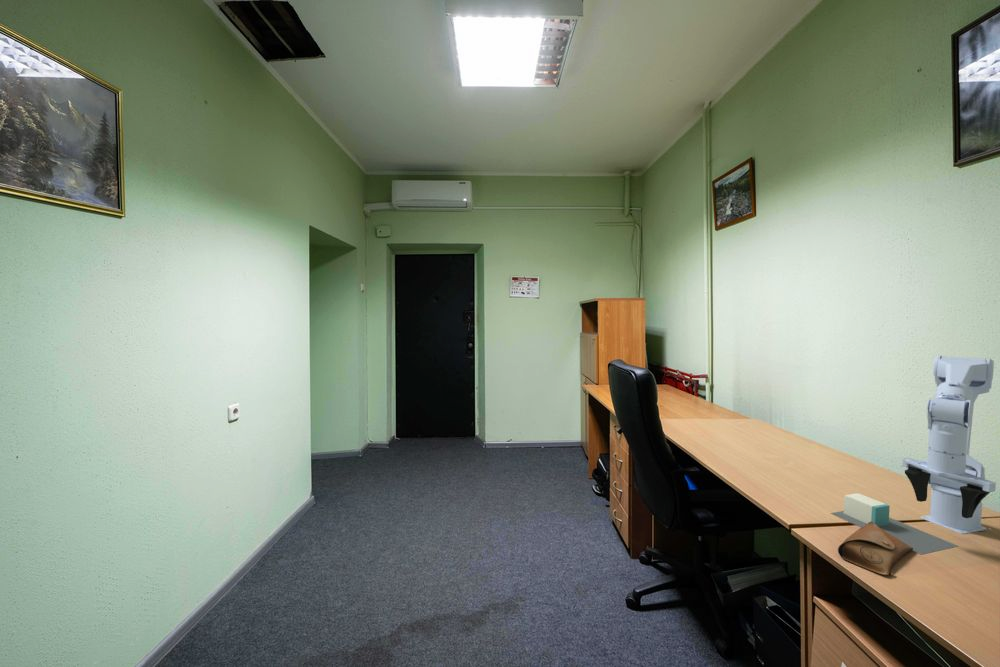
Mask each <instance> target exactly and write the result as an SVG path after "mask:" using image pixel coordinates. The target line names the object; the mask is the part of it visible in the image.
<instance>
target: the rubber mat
mask: <svg viewBox="0 0 1000 667" xmlns="http://www.w3.org/2000/svg"><path fill="white" fill-rule="evenodd" d="M830 514H831V515H833V516H835V517H837V518H839V519H842V520H844V521H847V522H848V523H850V524H852V525H854V526H857V527H858V528H861V527H863V526H865V525H867V523H864V522H862V521H860V520H858V519H855V518H853V517H851V516H849V515H846V514H844V510H843V511H842V510H841V511H836V512H831V513H830ZM878 527H880V528H881V529H883V530H885V531H886V532H888V533H889V534H891V535H893V536H894V537H896V538H897V539H899V540H900V541H902V542H904V543H905V544H907V545H909V546H910V547H912V548H914V549H913V550H911V551H912V552H913V553H916V554H918V555H921V556H922V555H927V554H930V553H935V552H939V551H944V550H948V549H953V548H957V547H959V545H957V544H955V543H952V542H951V541H949V540H946V539H943V538H940V537H938V536H935V535H933V534H931V533H929V532H925V531H923V530H921V529H919V528H916V527H914V526H911V525H909V524H907V523H904V522H901V521H899V520H896V519H894V518H892V517H889V525H883V526H878ZM911 551H910V552H911Z"/></svg>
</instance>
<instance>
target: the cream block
mask: <svg viewBox="0 0 1000 667" xmlns="http://www.w3.org/2000/svg"><path fill="white" fill-rule="evenodd" d="M843 497H844V498H843V511H844V514H846V515H849V516H851V517H853V518H855V519H858V520H860V521H862V522H864V523H867V524H868V523H869V522H871V521H873V522H874V523H875V524H876V525H877V526H883V525H889V518H890V504H887V503H885V502H881V501H879V500H876V499H874V498H871V497H869V496H866V495H863V494H861V493H859V492H856V493H851V494H850V493H849V494H845V495H844V496H843Z"/></svg>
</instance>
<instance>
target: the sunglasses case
mask: <svg viewBox="0 0 1000 667" xmlns="http://www.w3.org/2000/svg"><path fill="white" fill-rule="evenodd" d="M913 549H914V548H912V547H910V546H909V545H907V544H905V543H904V542H902V541H900V540H899V539H897V538H896V537H894V536H893V535H891V534H889V533H888V532H886V531H885V530H883V529H881V528H880V527H878V526H877V525H876V524H875V523H874V522H873V521H871V522H869V523H868V524H867V525H865V526H863V527H859V529H858V530H856V531H855V532H853V533H851V534H850V535H849V537H847V538H846V539H844V541H843V542H842V543H841V544H840V545H839V546H838V548H837V554H839V556H840V557H841V559H842V560H845V562H846V561H847V562H848V563H851V564H853V565H855V566H858V567H860V568H862V569H865V570H868V571H870V572H873V573H876V574H879V575H882V576H889V575H890V572H891V571H892V568H893V567H894V566H895V565H896V563H898V561H900V560H901V559H902V558H904V556H906V555H907V554H909V553H910V552H911V550H913Z"/></svg>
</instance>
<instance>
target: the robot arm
mask: <svg viewBox="0 0 1000 667" xmlns="http://www.w3.org/2000/svg"><path fill="white" fill-rule="evenodd" d="M994 364H995V362H994V359H992V358H991V357H988V358H982V357H978V358H977V357H964V356H963V357H962V356H947V355H946V356H945V355H939V354H938V355H937V356H936V357H934V361H933V376H934V383H935V384H936V387H937V388H936V389H935V393H934V397H933V398H932V399H928V401H927V404H926V418H927V419H926V420H927V429H928V444H927V445H928V446H927V456H926V461H923V460H918V459H913V458H910V457H905V458H902V463H901V464H902V467H904V468H907V469H904V474H905V475H906V477H907V478H908V480H909V481H910V484H911V485H912V488H913V492H914V494H915V499H916V501H917V502H920V503H921V502H927V498H928V486H929V488H930V489H931V490H930V506H929V507H930V509H929V514H927V515H921V516H920V519H923V520H925V521H928V522H931V523H933V524H935V525H936V526H937V525H938V526H940V527H943V528H946V529H948V530H950V531H954V532H956V533H958V534H962V535H966V534H971V533H974V532H975V533H977V532H981V531H986V530H987V528H986V527H985V526H982V513H983V502H982V501H983V500H984V498H986V497H987V496H988V495H989V494H990V493H993V492H996V485H997V483H996V481H991V480H988V479H986V474H985V472H986V471H985V467H984V465H983V464H982V463H981V462H979V461H978V460H977V459H975V458H973V457H972V456H971V455H969V454H970V449H971V448H970V446H971V445H970V444H971V436H972V426H973V416H974V407H975V406H974V405H975V402H976V400H977V399H978V397H979V395H982V394H987V393H989V392H990V389H991V390H992V383H993V378H994V370H995V369H994V367H995V365H994Z"/></svg>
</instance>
